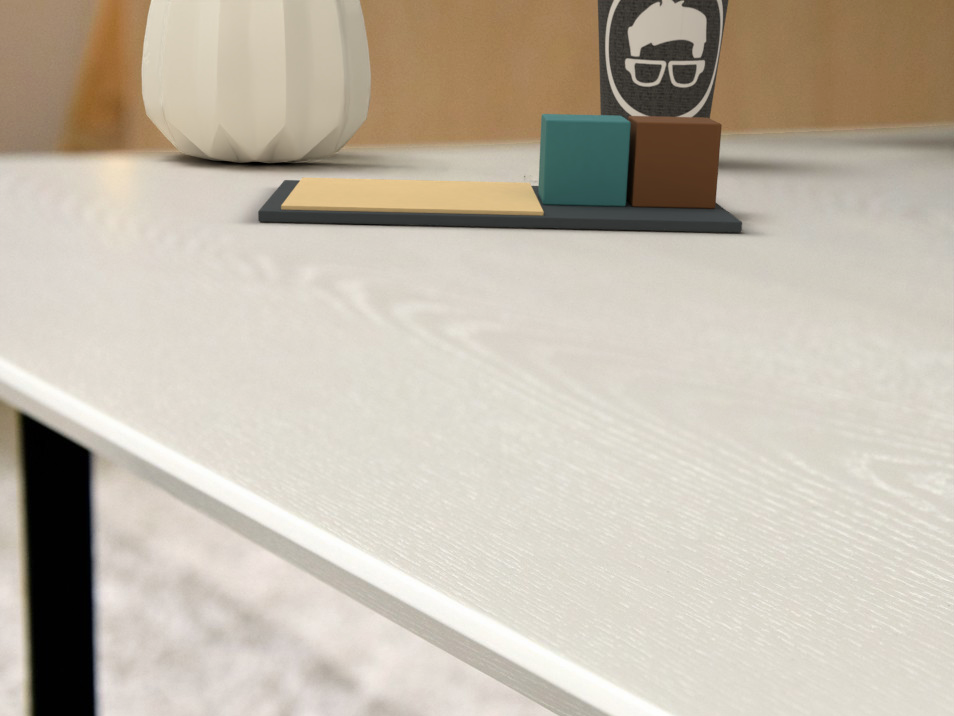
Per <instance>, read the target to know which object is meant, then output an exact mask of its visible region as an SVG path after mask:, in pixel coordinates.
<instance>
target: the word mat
mask: <svg viewBox="0 0 954 716" xmlns="http://www.w3.org/2000/svg"><path fill="white" fill-rule="evenodd" d="M540 120H541V121H540V139H539V140H540V142H539V164H538V165H539V166H538V184H537V185H532V184H531V183H530V182H519V181H517V182H511V181H472V180H471V181H470V180H428V179H427V180H425V179H390V178H389V179H384V178H382V179H379V178H347V177H346V178H344V177H343V178H338V177H301V178H300V179H298V180H297V179H284V180H283V181H282V183H280V185H279V186H278V187H277V189H275V191H274V192H273V193H272V194H271V195H270V196H269V198H268V199H267V200H266V201H265V202H264V204H263V205H262V206H261V207H260V209H259V210H258V212H257V213H258V214H257V217H258V218H257V220H258V222H262V223H269V222H270V223H299V224H300V223H301V224H304V223H305V224H306V223H308V224H347V225H350V224H352V225H387V226H388V225H389V226H391V225H392V226H396V225H399V226H432V227H433V226H434V227H435V226H436V227H475V228H477V227H478V228H515V229H517V228H518V229H519V228H522V229H524V228H525V229H561V230H562V229H565V230H566V229H567V230H602V231H603V230H604V231H605V230H607V231H609V230H611V231H646V232H647V231H648V232H649V231H651V232H654V231H655V232H688V233H689V232H693V233H735V234H737V233H738V234H740V233H742V229H743V222H742V221H741V220H740V219H739V218H737V217H736V216H734V215H733V214H732V213H731V212H729V210H727V209H725V208H724V207H723V206H721V205H720V204H718V202H717V191H718V179H719V166H720V165H719V164H720V152H721V141H722V140H721V139H722V128H723V125H722V123H720V122H718V121H715V120H714V119H711V118H710V119H709V118H702V117H658V116H629V117H628V120H627V119H625V118H624V117H622V116H614V115H601V114H568V113H567V114H564V113H559V114H558V113H542V114H541V118H540Z"/></svg>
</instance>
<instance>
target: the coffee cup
mask: <svg viewBox="0 0 954 716" xmlns="http://www.w3.org/2000/svg"><path fill="white" fill-rule="evenodd" d="M728 6H729V0H597V17H598V18H597V23H598V26H597V27H598V28H597V29H598V62H599V64H598V65H599V102H600V103H599V104H600V115H614V116H622V117H624V118H625V119H627V120H628V117H629V116H658V117H702V118H709V119H711V114H712V107H713V100H714V95H715V87H716V82H717V76H718V69H719V63H720V57H721V49H722V44H723V37H724V32H725V25H726V18H727V13H728Z"/></svg>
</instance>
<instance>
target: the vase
mask: <svg viewBox="0 0 954 716" xmlns="http://www.w3.org/2000/svg"><path fill="white" fill-rule="evenodd" d="M361 4H362V3H361V1H360V0H150V3H149V9H148V12H147V13H148V14H147V19H146V25H145V30H144V31H145V32H144V38H143V39H144V40H143V46H142V58H141V70H140V71H141V94H142V95H141V96H142V101H143V105H144V109H145V114H146V116H147V117H148V118H149V120H150V121H151V122H152V123H153V125H154V126H155V127H156V128H157V129H158V130H159V132H161V134H162V135H163V136H164V137H165V138H166V139H167V140H168V141H169V143H171V144H172V145H173V147H174V148H176V150H177V151H178V152H180V153H181V154H184V155H186V156H191V157H195V158H199V159H204V160H209V161H214V162H232V163H239V164H247V163H264V164H276V163H299V162H306V161H312V160H318V159H324V158H328V157H332V156H333V155H334V154H336V153H338V152H340V150H342V149H343V148H344V147H345V146H346V145H347V144H348V142H349V141H350V140H351V139H352V138H353V137H354V136H355V134H356V133H357V132H358V131H359V129H360V128H361V127H362V126H363V125H364V124H365V122H366V121H367V120H368V114H369V111H370V110H369V109H370V104H371V97H372V94H371V93H372V72H371V71H372V70H371V59H370V49H369V41H368V35H367V29H366V23H365V18H364V13H363V9H362V5H361Z"/></svg>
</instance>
